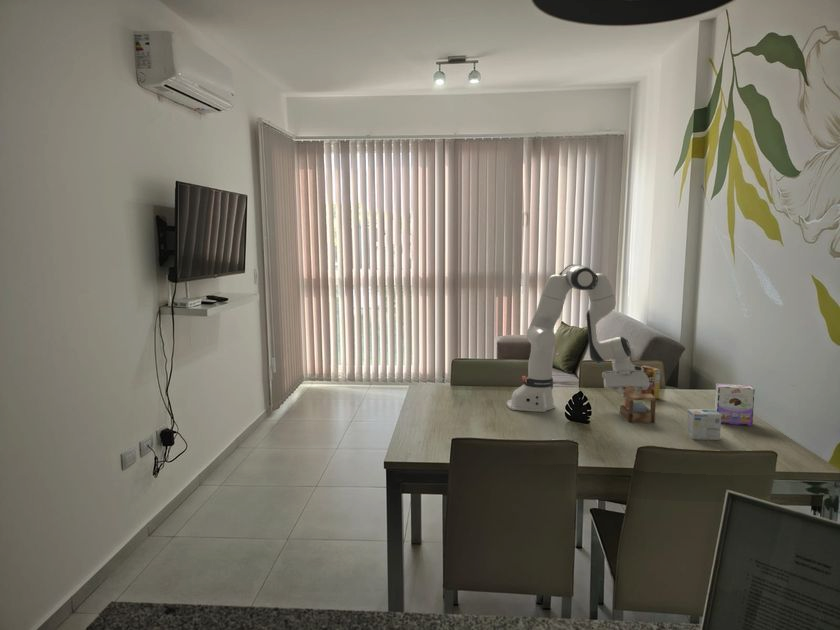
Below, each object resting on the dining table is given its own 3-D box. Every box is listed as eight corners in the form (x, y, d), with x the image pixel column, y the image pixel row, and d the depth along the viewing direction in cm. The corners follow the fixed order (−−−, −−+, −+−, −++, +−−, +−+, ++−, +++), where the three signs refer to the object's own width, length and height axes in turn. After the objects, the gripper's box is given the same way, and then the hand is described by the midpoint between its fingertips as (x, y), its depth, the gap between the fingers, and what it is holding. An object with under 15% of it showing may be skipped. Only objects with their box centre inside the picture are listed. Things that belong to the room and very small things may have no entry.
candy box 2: (749, 422, 233) (751, 385, 231) (752, 426, 228) (755, 388, 226) (713, 418, 238) (715, 382, 236) (715, 423, 232) (718, 386, 230)
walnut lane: (628, 422, 234) (629, 397, 232) (619, 413, 246) (620, 389, 244) (654, 422, 233) (655, 397, 232) (644, 413, 245) (645, 390, 244)
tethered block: (632, 420, 237) (634, 401, 234) (620, 404, 253) (621, 386, 250) (646, 420, 236) (648, 401, 234) (633, 404, 252) (635, 387, 250)
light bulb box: (713, 434, 219) (714, 408, 217) (720, 440, 212) (722, 414, 211) (685, 433, 220) (687, 408, 218) (692, 439, 213) (693, 413, 212)
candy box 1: (638, 395, 275) (640, 365, 273) (644, 394, 277) (646, 365, 275) (653, 399, 268) (655, 369, 266) (659, 398, 270) (661, 368, 268)
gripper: (602, 367, 255) (608, 393, 247) (646, 367, 254) (653, 393, 246) (599, 374, 260) (604, 399, 252) (642, 374, 259) (649, 400, 251)
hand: (629, 396), depth 249 cm, fingers closed on tethered block, 3 cm apart
